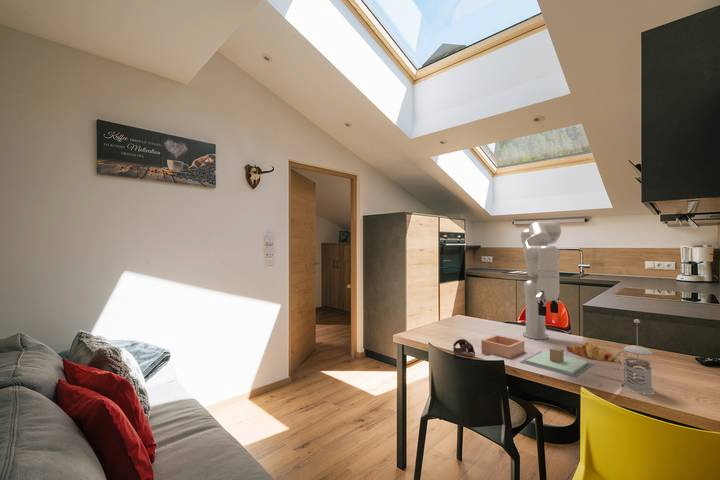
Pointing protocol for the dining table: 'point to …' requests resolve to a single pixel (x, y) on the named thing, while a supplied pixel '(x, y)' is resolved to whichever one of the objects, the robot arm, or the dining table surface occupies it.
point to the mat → (559, 371)
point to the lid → (557, 361)
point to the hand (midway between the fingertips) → (548, 314)
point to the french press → (637, 369)
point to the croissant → (592, 352)
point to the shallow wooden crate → (502, 346)
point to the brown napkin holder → (463, 347)
